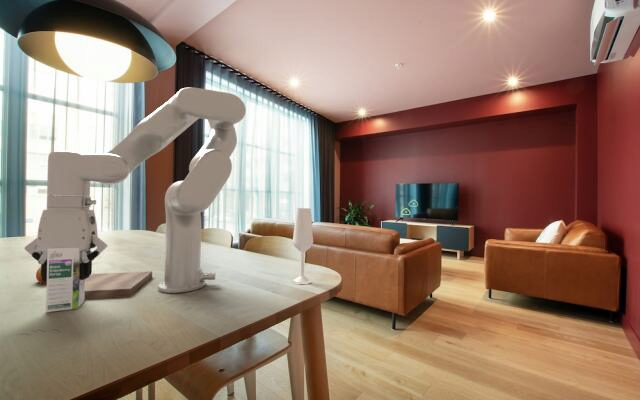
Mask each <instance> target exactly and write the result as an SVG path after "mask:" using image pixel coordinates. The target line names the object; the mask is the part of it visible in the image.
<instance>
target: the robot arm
mask: <svg viewBox="0 0 640 400" xmlns="http://www.w3.org/2000/svg"><path fill="white" fill-rule="evenodd" d="M246 110H247V109H246V105H245V102H244V101H243V100H242V98H240V97H239V96H238V95H236V94H233V93H230V92H224V91H218V90H212V89H206V88H199V87H192V86H191V87H184V88H180V89H179V91H177V92H176V94H174V95H173V96H172V97H171V98H169V100H168V101H166V102H165V103H164V104H162V105H160V107H158V108H157V109H156V110H154V111H153V112H152V113H150V114H149V115H148V116H146V117H145V118H144V119H142V120H140V122H138V124H137V125H136V126H135V127H134V128H132V130H131V131H130V132H129V134H128V135H127V136H126V137H125V138H123V139H122V140H121V141H120V142H118V144H116V145H115V146H114V147H113V148H111V149H110V150H109V151H108V152H106V153H84V152H80V151H79V152H78V151H72V150H52V151H51V152H50V153H49V154H48V157H47V184H46V185H47V186H46V209H43V210H42V213H41V216H40V219H39V224H38V229H37V237H36V238H35V239H33V240H32V241H31V242H30V243H28V244H27V245H26V246H24V250H25V251H26V252H28V254H29V255H31V257H32V258H33V259H35V260H36V261H37V263H38V264H39V265H40V267H41V277H42V282H46V281H47V251H48V249H49V248H79V251H80V257H81V259H82V263H80V278H79V279H80V280H84V279H86V278H88V277H90V275H91V274H93V273H92V271H93V261H95V259H96V258H97V257H98V256H100V255H101V253H102V252H104V251H105V250H106V249H107V248H108V243H106V242H105V241H103V240H102V239H101V238H100V237H98V225H97V219H96V213H95V209H90V208H91V206H96V204H97V200H96V199H92V196H91V182H95V183H99V184H101V185H105V186H111V185H117V184H120V183H122V182H124V181H125V180H126V179H127V178H128V177H129V175H130V174H131V173H132V172H133V171H134V170H135V169H136V168H138V167H139V166H140V165H142V164H143V163H144V162H145V161H146V160H148V159H149V158H150V157H153V156H154V155H156V154H158V153H159V152H161V151H162V150H163V149H164V148H166V147H167V146H168V145H170V144H171V143H172V142H173V141H174V140H175V139H176V138H177V137H179V136H180V135H181V134H183V132H185V131H186V130H187V129H188V128H189V127H190V126H192V125H193V124H194V123H195V122H196V121H197V120H199V119H202V120H207V122H208V124H209V127H210V134H209V137H208V138H207V140H206V141H205V142H204V144H203V145H202V146H201V148H200V149H199V150H198V152H197V153H196V154H195V156H194V157H193V158H192V159H191V161H190V163H189V166H188V167H189V168H188V171H189V172H188V174H187V175H186V177H185V178H184V180H178V181H175V182H174V183H171V185H169V187H168V188H167V190H166V192H165V195H164V208H165V210H164V211H165V239H164V240H165V243H164V244H165V245H164V246H165V247H164V249H165V250H164V281H161V282H160V283H159V284H158V285H157V289H158V291H159V292H162V293H167V294H169V293H170V294H179V293H186V292H192V291H196V290H199V289H201V288H203V287H204V286H206V280H207V281H208V280H209V281H215V280H216V272H212V271H210V272H209V271H208V272H205V271H203V268H202V267H201V258H202V256H201V253H202V252H201V248H202V217H201V216H202V215H201V213H202V212H204V211H206V210H207V209H208V208H210V206H211V205H212V204H213V202H214V200H215V199H216V198H217V197H218V195H219V194H220V191H222V189H223V187H224V186H225V184H226V183H227V181H228V180H229V177H230V176H231V174H232V170H233V165H232V164H233V163H232V160H231V156H232V155H233V153H234V151H235V149H236V147H237V144H238V143H237V142H238V141H237V140H238V139H237V132H236V127H235V126H234V125H236V124H238V123H239V122H241V121H242V120H243V119H244V118H245V115H246ZM92 249H94V250H93V251H92Z"/></svg>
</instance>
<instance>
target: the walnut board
mask: <svg viewBox="0 0 640 400" xmlns="http://www.w3.org/2000/svg"><path fill="white" fill-rule="evenodd" d="M152 278H153V271H134V272H133V271H129V272H128V271H127V272H109V273H107V272H106V273H91V275H90V277H88V278H86V279H85V298H84V300H88V299H89V300H90V299H91V300H92V299H104V298H121V297H122V298H123V297H131V296H133V294H135V292H137V291H138V290H139V289H141V288H142V287H143V286H144V285H145V284H146V283H147V282H149V281H150V280H151V279H152Z"/></svg>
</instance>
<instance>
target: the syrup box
mask: <svg viewBox="0 0 640 400" xmlns="http://www.w3.org/2000/svg"><path fill="white" fill-rule="evenodd" d="M80 263H82V259H81V257H80V251H79V248H49V249H48V251H47V284H46V294H45V295H46V296H45V297H46V298H45V299H46V300H45V313H53V312H60V311H70V310H77V309H79V307H80V306H81V305H82V304H83V303H84V301H85V299H84V298H85V279H84V280H80V279H79V278H80Z"/></svg>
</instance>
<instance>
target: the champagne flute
mask: <svg viewBox="0 0 640 400" xmlns="http://www.w3.org/2000/svg"><path fill="white" fill-rule="evenodd" d="M293 226H294V227H293V234H292V235H293V237H292V244H293V246H294V247H295V249H297V251H299V253H300V269H299V270H300V272H299V273H300V274H299V276H298V277H297V278H294V279H293V280H294V281H296V282H307V281H309V280H310V279H309V278H308V277H306V276H305V253H306V252H307V251H308V250H309V249H310V248H311V247H312V246H313V244H314V234H313V233H314V232H313V220H312V208H309V207H308V208H307V207H306V208H304V207H301V208H300V207H298V208H297V207H296V210H295V217H294V225H293Z"/></svg>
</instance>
